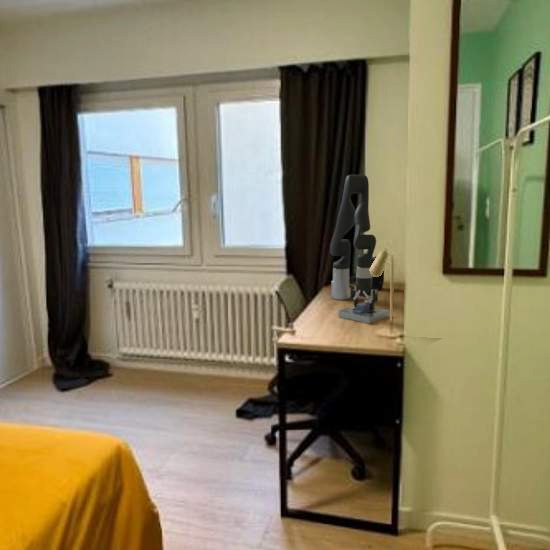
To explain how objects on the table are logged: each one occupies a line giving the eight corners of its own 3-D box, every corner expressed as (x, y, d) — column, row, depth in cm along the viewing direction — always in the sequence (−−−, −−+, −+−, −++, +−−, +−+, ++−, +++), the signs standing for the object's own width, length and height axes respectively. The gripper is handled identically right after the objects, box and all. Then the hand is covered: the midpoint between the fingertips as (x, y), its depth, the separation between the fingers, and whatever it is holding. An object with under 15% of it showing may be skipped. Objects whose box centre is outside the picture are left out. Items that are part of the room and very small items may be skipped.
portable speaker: (385, 290, 300) (386, 258, 296) (370, 290, 299) (370, 258, 296) (381, 287, 308) (382, 255, 305) (366, 287, 308) (366, 256, 304)
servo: (352, 317, 241) (352, 303, 239) (367, 312, 250) (368, 298, 249) (359, 319, 238) (359, 305, 237) (374, 313, 247) (375, 300, 246)
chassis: (338, 316, 244) (338, 310, 244) (358, 310, 256) (358, 304, 256) (369, 323, 232) (369, 317, 231) (389, 316, 244) (389, 310, 243)
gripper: (381, 276, 238) (380, 309, 241) (356, 273, 248) (356, 304, 251) (372, 279, 233) (371, 312, 236) (347, 275, 243) (347, 307, 246)
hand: (363, 308), depth 243 cm, fingers open, 8 cm apart
